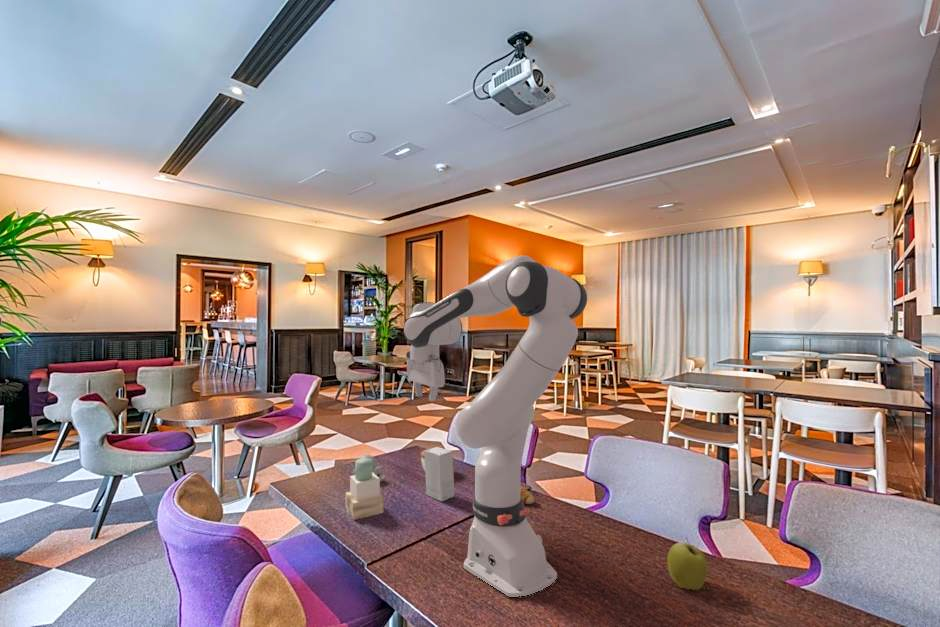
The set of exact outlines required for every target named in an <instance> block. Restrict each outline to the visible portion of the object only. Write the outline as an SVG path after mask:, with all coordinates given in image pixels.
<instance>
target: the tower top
mask: <svg viewBox="0 0 940 627" xmlns="http://www.w3.org/2000/svg"><path fill="white" fill-rule="evenodd" d="M380 485H381V482H380V479H379V478H378V477H377V476H376V475H375V474H374V473H373V472H372V478H371V479H369V480H365V481H358V480H356V479H355V475H353V474H352V475H350V476H349V492H350V493H351V494H352V496H353V497H354V498H355V500H356V501H359V500H363V499H367V498H372V497H376V496H380V493H381V492H380V491H381V486H380Z"/></svg>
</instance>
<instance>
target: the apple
mask: <svg viewBox="0 0 940 627" xmlns="http://www.w3.org/2000/svg"><path fill="white" fill-rule="evenodd" d="M685 538H686V541H687V542H677V543H675V544H673V545H672V546H671V547H670V549H669V550H668V553H667V570H668V573H669V576H670V577H671V579H672V581H673V582H674V583H675V584H676V585H677V586H678V587H679V588H681V587H682V588H681V589H683V588H685V589H684V590H690V589H692V591H698V590H700V589H701V588H702V587H703V585H704V583H705V582H706V579H707V577H708V576H707V575H708V568H709V567H708V566H709V565H708V561H707V559H706V556H705V554H704V552H703V551H702V550H701V549H700V548H698V547H697V546H696V545H693V544H690V543H689V541H688V537H685Z"/></svg>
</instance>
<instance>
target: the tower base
mask: <svg viewBox="0 0 940 627" xmlns="http://www.w3.org/2000/svg"><path fill="white" fill-rule="evenodd" d="M344 493H345V495H344V496H345V498H344V499H345V500H344V501H345V505H344V506H345V510H346V509H347V510H346V511H347V513H348V515H349V516H350V518H351V519H352V520H353V521H356V520H359V518H360V519H364V518H368V517H372V515H373V516H375V515H381V514H383V513H384V496H383V495H382V493H381V492H380V496H376V497H372V498H367V499H363V500H359V501H356V500H355V498H354V497H353V496H352V494H351V493H350V491H345V492H344Z"/></svg>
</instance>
